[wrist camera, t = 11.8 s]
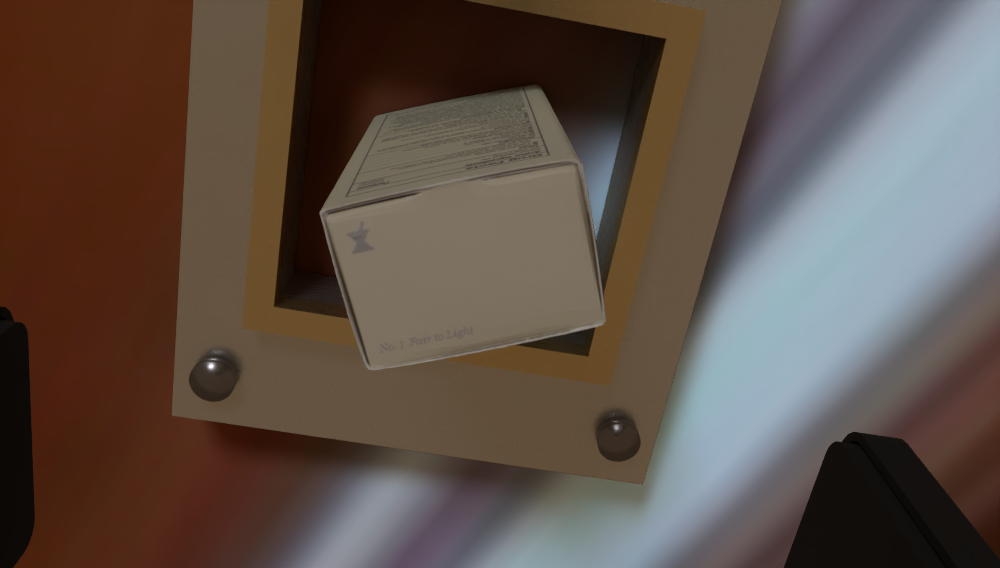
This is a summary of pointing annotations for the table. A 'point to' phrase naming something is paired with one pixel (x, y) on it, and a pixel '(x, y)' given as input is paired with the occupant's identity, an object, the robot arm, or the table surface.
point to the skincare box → (463, 231)
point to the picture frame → (474, 377)
